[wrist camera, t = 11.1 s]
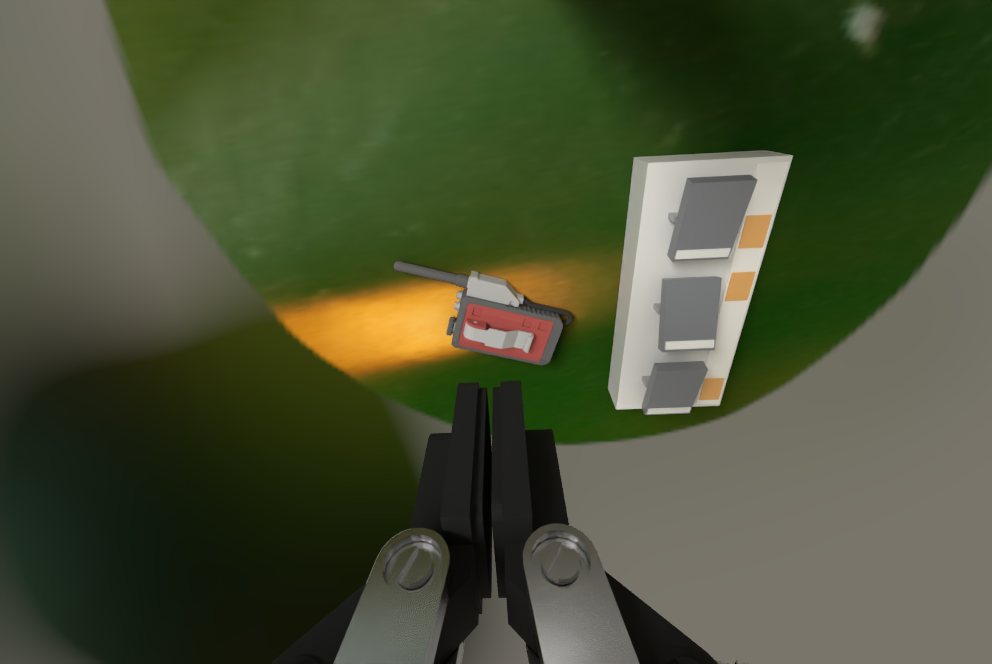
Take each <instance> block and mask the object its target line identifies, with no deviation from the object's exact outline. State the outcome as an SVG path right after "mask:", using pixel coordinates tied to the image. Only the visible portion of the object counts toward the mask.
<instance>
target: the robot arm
mask: <svg viewBox="0 0 992 664" xmlns="http://www.w3.org/2000/svg"><path fill="white" fill-rule="evenodd" d="M492 528H493V539H494V551H495V562H496V573H497V584H498V596H499V598H507V610H508V611H507V612H508V624H509V625H510V626H511V627H512V628H513V629H514V630H515V631H516V632H517V634H518V635H519V636H520V637H521V638H522V639H523V640H524V641H525V642H526V651H527V657H528V662H529V664H729V663H724V662H721V661H717V660H714V659H713V658H712V657H711V656H710V655H709V654H708V653H707V652H706V651H704V650H703V649H702V648H701V647H700V646H698V645H697V644H696V643H695V642H693V641H692V640H691V639H690V638H688V637H687V636H686V635H684V634H683V633H682V632H681V631H680V630H678V629H677V628H676V627H675V626H673V625H672V624H671V623H670V622H668V621H667V620H666V619H664V618H663V617H662V616H661V615H659V614H658V613H657V612H656V611H654V610H653V609H652V608H651V607H649V606H648V605H647V604H646V603H644V602H643V601H642V600H641V599H639V598H638V597H637V596H635V595H634V594H633V593H632V592H631V591H629V590H628V589H627V588H626V587H624V586H623V585H622V584H621V583H619V582H618V581H617V580H616V579H614V578H613V577H612V576H610V575H609V574H608V573H607V572H606V571H604V569H603V566H602V564H601V561H600V558H599V556H598V553H597V551H596V549H595V547H594V545H593V544H592V542H591V540H590V539H589V538H588V537H587V536H586V535H585V534H584V533H583V532H581V531H579V530H578V529H576V528H574V527H572V526H569V523H568V517H567V512H566V505H565V500H564V494H563V488H562V482H561V476H560V470H559V464H558V458H557V453H556V447H555V441H554V435H553V431H552V429H547V430H525V425H524V414H523V402H522V391H521V381H503V382H501V387H493V417H492V448H491V435H490V422H489V409H488V396H487V388H479V383H459V384H458V388H457V396H456V403H455V410H454V418H453V425H452V433H437V434H430V436H429V439H428V444H427V448H426V453H425V458H424V463H423V468H422V473H421V478H420V483H419V488H418V493H417V498H416V503H415V508H414V513H413V518H412V523H411V527H410V529H408V530H406V531H402V532H400V533H399V534H397V535H396V536H394V537H393V538H391V539H390V540H389V541H388V542H387V543H386V544H385V546H384V547H383V548H382V550H381V552H380V553H379V555H378V557H377V559H376V561H375V564H374V566H373V569H372V571H371V573H370V576H369V578H368V581H367V583H366V584H365V585H363V586H362V587H361V588H360V589H359V590H357V591H356V592H355V593H354V594H353V595H352V596H350V597H349V598H348V599H347V600H346V601H344V602H343V603H342V604H341V605H340V606H338V607H337V608H336V609H335V610H334V611H333V612H331V613H330V614H329V615H328V616H327V617H325V618H324V619H323V620H322V621H321V622H319V623H318V624H317V625H316V626H315V627H313V628H312V629H311V630H310V631H309V632H307V633H306V634H305V635H304V636H303V637H302V638H300V639H299V640H298V641H297V642H296V643H295V644H293V645H292V646H291V647H290V648H288V649H287V650H286V651H285V652H284V653H283V654H282V655H280V656H279V657H278V658H277V659H275V660H274V661H273V662H272V663H271V664H461V661H462V656H463V650H464V640H465V639H466V637H467V636H468V635H469V634H470V633H471V632H472V631H473V630H474V629H475V627H476V626H477V625H478V616H479V615H478V614H482V598H491V586H492V585H491V584H492V582H491V580H492ZM735 664H749V663H745V662H741V661H737V660H736V662H735Z"/></svg>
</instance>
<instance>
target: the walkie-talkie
mask: <svg viewBox="0 0 992 664" xmlns="http://www.w3.org/2000/svg"><path fill="white" fill-rule="evenodd" d="M394 268H395V270H397V271H401V272H405V273H409V274H414V275H418V276H422V277H426V278H431V279H435V280H439V281H443V282H448V283H452V284H456V286H460V287H464V288H467V289H464V290H463V291H462V292H460V291H458V293H457V299H460V302H455V307H454V309H457V310H458V315H457V320H455V318H454V317H450V320H449V325H448V329H447V335H451V334H452V333H453V338H452V345H453V346H454V347H456V348H461V349H465V350H470V351H475V352H479V353H484V354H489V355H495V356H500V357H504V358H509V359H513V360H518V361H523V362H527V363H532V364H533V363H534V364H536V365H545V364H548V363H549V362H550V360H551V357H552V355H553V352H554V349H555V347H556V344H557V342H558V339H559V337H560V334H561V331H562V328H563V325H568V324H570V323H571V321H572V315H571V313H570V312H568V311H566V310H562V309H558V308H553V307H549V306H545V305H540V304H536V303H533V302H530V301H529V300H528V299H526V298H524V296H523V294H518V293H517V292H516V291H515V290H514V288H513V287H512V286H511V285H510V284H509V283H508V281H507V280H504V279H500V278H496V277H492V276H487V275H483V274H480V273H479V272H476V271H471V275H470V276H467V275H462V274H458V275H457V274H452V273H448V272H444V271H440V270H435V269H431V268H427V267H422V266H417V265H413V264H409V263H404V262H400V261H397V262H395V263H394ZM560 314H562V315H566V316H568V319H567V320H562V319H561V316H560Z"/></svg>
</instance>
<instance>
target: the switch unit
mask: <svg viewBox="0 0 992 664" xmlns="http://www.w3.org/2000/svg"><path fill="white" fill-rule="evenodd" d="M792 158H793V155H789V154H783V153H778V152H773V151H767V150H759V151H741V152H722V153H703V154H685V155H666V156H647V157H634V161H633V170H632V179H631V188H630V197H629V206H628V215H627V224H626V233H625V242H624V250H623V259H622V268H621V277H620V286H619V295H618V304H617V313H616V322H615V331H614V340H613V348H612V357H611V366H610V375H609V384H608V390H609V392H610V395H611V397H612V400H613V403H614V405H615V408H616V410H617V409H642V407H641V406H642V403H643V399H644V396H645V393H646V389H647V386H648V382H649V379H650V375H651V372H652V369H653V365H654V363H667V362H691V361H704V363H705V365H706V366H707V368H708V371H707V373H706V376H705V378H704V381H703V383H702V385H701V388H700V390H699V392H698V395H697V397H696V400H695V402H694V404H693V407H697V406H719V405H720V402H721V399H722V395H723V392H724V388H725V385H726V382H727V378H728V375H729V371H730V368H731V365H732V361H733V358H734V354H735V351H736V348H737V344H738V341H739V337H740V334H741V331H742V327H743V324H744V320H745V317H746V314H747V310H748V307H749V303H750V300H751V297H752V293H753V290H754V287H755V283H756V280H757V276H758V273H759V270H760V266H761V263H762V259H763V256H764V253H765V249H766V246H767V242H768V239H769V236H770V232H771V229H772V225H773V222H774V219H775V215H776V212H777V208H778V205H779V202H780V198H781V195H782V191H783V188H784V185H785V181H786V178H787V175H788V171H789V168H790V164H791V161H792ZM732 175H752V176H753V177H754V178H756V179H757V180H758V181H757V183H756V186H755V189H754V191H753V194H752V197H751V199H750V202H749V205H748V207H747V210H746V213H745V215H744V218H743V221H742V223H741V226H740V229H739V232H738V234H737V237H736V240H735V242H734V245H733V248H732V250H731V253H730V256H729V258H728V259H715V260H694V261H673V262H672V261H671V260H670V258H669V257H668V255H667V253H668V250H669V246H670V242H671V238H672V234H673V230H674V226H675V222H676V219H677V215H678V211H679V207H680V203H681V199H682V195H683V191H684V188H685V184H686V180H687V178H693V177H712V176H732ZM708 276H717V277H721V278H722V281H721V292H720V302H719V312H718V323H717V333H716V343H715V350H709V351H684V352H661V351H660V350H659V349H658V338H659V321H660V304H661V287H662V279H664V278H686V277H708Z"/></svg>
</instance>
